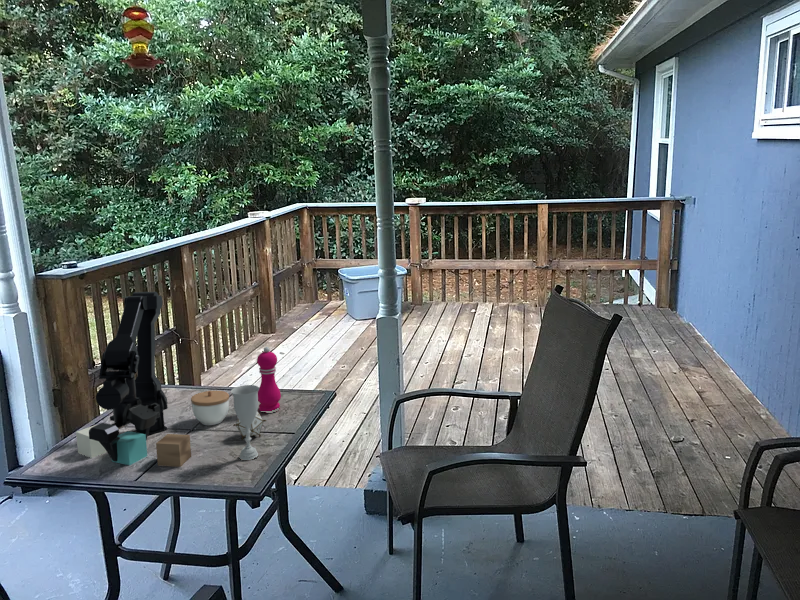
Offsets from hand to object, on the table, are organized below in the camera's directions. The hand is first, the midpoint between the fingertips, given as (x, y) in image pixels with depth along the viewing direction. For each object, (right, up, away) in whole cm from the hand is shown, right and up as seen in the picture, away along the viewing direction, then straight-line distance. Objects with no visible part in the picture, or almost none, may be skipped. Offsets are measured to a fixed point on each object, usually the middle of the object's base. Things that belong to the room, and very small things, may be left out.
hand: (129, 453), depth 168 cm
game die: (+28, +1, +14) cm, 31 cm away
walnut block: (+12, -2, -1) cm, 12 cm away
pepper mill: (+29, +5, +34) cm, 45 cm away
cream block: (-11, -1, +5) cm, 12 cm away
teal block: (0, -1, 0) cm, 1 cm away
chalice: (+30, -1, +1) cm, 30 cm away
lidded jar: (+14, +3, +25) cm, 29 cm away
